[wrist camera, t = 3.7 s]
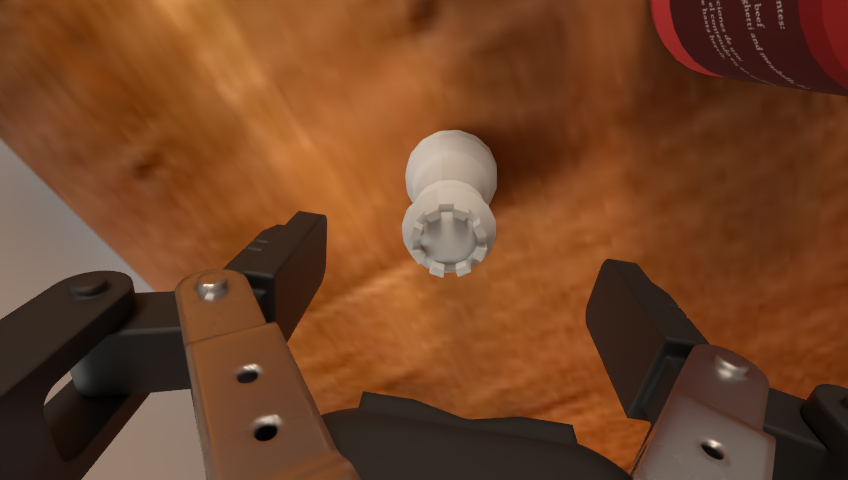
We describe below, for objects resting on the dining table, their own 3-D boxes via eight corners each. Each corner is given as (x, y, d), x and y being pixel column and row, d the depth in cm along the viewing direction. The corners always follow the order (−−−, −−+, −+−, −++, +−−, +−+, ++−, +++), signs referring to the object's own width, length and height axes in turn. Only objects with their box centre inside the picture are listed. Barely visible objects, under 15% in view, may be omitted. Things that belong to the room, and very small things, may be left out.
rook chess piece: (395, 141, 20) (361, 197, 13) (485, 116, 19) (503, 161, 12) (420, 223, 22) (403, 312, 15) (504, 203, 21) (529, 287, 14)
